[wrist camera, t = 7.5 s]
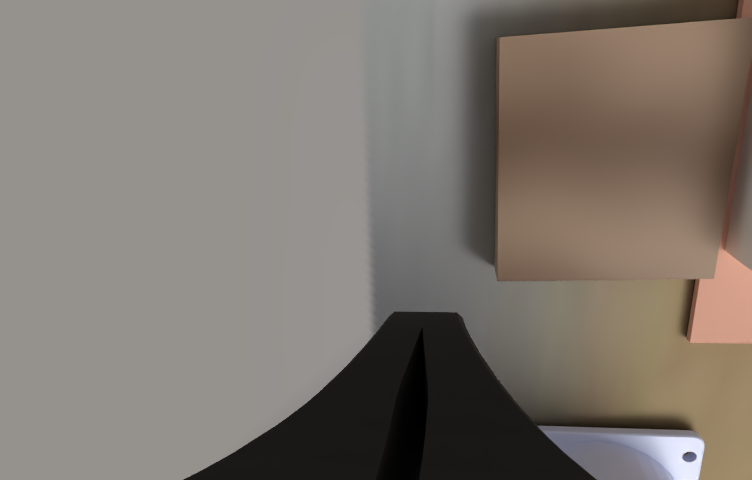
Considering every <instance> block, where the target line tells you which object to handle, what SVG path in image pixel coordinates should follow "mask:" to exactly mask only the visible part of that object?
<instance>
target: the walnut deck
mask: <svg viewBox="0 0 752 480" xmlns="http://www.w3.org/2000/svg"><path fill="white" fill-rule="evenodd" d="M751 56H752V17H750V18H737V19H725V20H712V21H699V22H687V23H674V24H661V25H648V26H636V27H623V28H610V29H598V30H585V31H572V32H560V33H547V34H534V35H522V36H509V37H497V38H496V161H495V271H496V276H497V281H556V280H657V279H714V276H715V270H716V264H717V258H718V252H719V246H720V240H721V234H722V228H723V222H724V216H725V210H726V204H727V198H728V192H729V187H730V181H731V175H732V169H733V163H734V157H735V151H736V145H737V139H738V133H739V127H740V121H741V115H742V109H743V103H744V97H745V91H746V85H747V79H748V74H749V68H750V62H751Z"/></svg>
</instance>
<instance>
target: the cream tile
mask: <svg viewBox="0 0 752 480" xmlns="http://www.w3.org/2000/svg"><path fill="white" fill-rule="evenodd" d="M725 251H726V252H727V253H729V254H730V255H731V256H733V257H734V258H735V259H736V260H738V261H739V262H740V263H742V264H743V265H744V266H746V267H747V268H748V269H750V270H751V271H752V82H751V88H750V95H749V101H748V107H747V114H746V120H745V126H744V133H743V139H742V145H741V152H740V158H739V164H738V171H737V177H736V183H735V190H734V196H733V202H732V209H731V215H730V221H729V228H728V234H727V240H726V247H725Z"/></svg>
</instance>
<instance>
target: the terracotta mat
mask: <svg viewBox="0 0 752 480" xmlns="http://www.w3.org/2000/svg"><path fill="white" fill-rule="evenodd" d="M750 17H752V0H739V2H738V9H737V15H736V19H737V18H750ZM751 82H752V56H751V62H750V68H749V74H748V79H747V85H746V91H745V97H744V103H743V109H742V115H741V121H740V127H739V133H738V139H737V145H736V151H735V157H734V163H733V169H732V175H731V181H730V187H729V192H728V198H727V204H726V210H725V216H724V222H723V228H722V234H721V240H720V246H719V252H718V258H717V264H716V270H715V276H714V279H696V280H695V287H694V293H693V300H692V306H691V312H690V319H689V325H688V332H687V338H686V339H687V340H688V341H689V342H690V343H752V271H751V270H750V269H748V268H747V267H746V266H744V265H743V264H742V263H740V262H739V261H738V260H736V259H735V258H734V257H733V256H731V255H730V254H729V253H727V252H726V251H725V247H726V240H727V234H728V228H729V221H730V215H731V209H732V202H733V196H734V190H735V183H736V177H737V171H738V164H739V158H740V152H741V145H742V139H743V133H744V126H745V120H746V114H747V107H748V101H749V95H750V88H751Z"/></svg>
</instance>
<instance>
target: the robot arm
mask: <svg viewBox="0 0 752 480" xmlns="http://www.w3.org/2000/svg"><path fill="white" fill-rule="evenodd" d="M704 447H705V446H704V441H703V440H702V438H701V437H700V435H699V434H698V433H696V432H695V431H690V430H662V429H630V428H597V427H564V426H537V425H536V424H535V423H534V422H533V421H532V420H531V419H530V418H529V417H528V416H527V415H526V413H525V412H524V411H523V410H522V409H521V408H520V407H519V405H518V404H517V403H516V402H515V401H514V399H513V398H512V397H511V396H510V394H509V393H508V392H507V391H506V389H505V388H504V387H503V386H502V384H501V383H500V382H499V380H498V379H497V378H496V376H495V375H494V373H493V372H492V370H491V369H490V367H489V366H488V364H487V363H486V362H485V360H484V359H483V357H482V356H481V354H480V352H479V351H478V349H477V347H476V346H475V344H474V342H473V340H472V339H471V337H470V335H469V333H468V331H467V329H466V326H465V324H464V321H463V318H462V317H461V316H460V315H459V314H458V313H450V312H394V313H392V314H391V315H390V316H389V317H388V319H387V320H386V321H385V322H384V324H383V325H382V326H381V327H380V329H379V330H378V331H377V332H376V334H375V335H374V336H373V337H372V338H371V340H370V341H369V342H368V343H367V344H366V345H365V346H364V348H363V349H362V350H361V351H360V352H359V353H358V354H357V355H356V357H354V358H353V360H352V361H351V362H350V363H349V364H348V365H347V366H346V367H345V368H344V369H343V370H342V371H341V372H340V373H339V374H338V375H337V376H336V377H335V378H334V379H333V380H331V381H330V382H329V383H328V384H327V385H326V386H325V387H324V388H323V389H322V390H321V391H320V392H319V393H318V394H317V395H315V396H314V397H313V398H312V399H311V400H310V401H308V402H307V403H306V404H305V405H304V406H302V407H301V408H299V409H298V410H297V411H296V412H294V413H293V414H292V415H290V416H289V417H288V418H286V419H285V420H283V421H282V422H281V423H279V424H278V425H276V426H275V427H273V428H272V429H270V430H268V431H267V432H265V433H264V434H262V435H261V436H259V437H258V438H256V439H254V440H253V441H251V442H250V443H248V444H247V445H245V446H243V447H242V448H240V449H239V450H237V451H236V452H234V453H232V454H231V455H229V456H227V457H225V458H223V459H222V460H220V461H218V462H216V463H214V464H213V465H211V466H209V467H207V468H205V469H203V470H202V471H200V472H198V473H196V474H194V475H192V476H190V477H188V478H186V479H184V480H699V474H700V469H701V463H702V458H703V452H704ZM686 452H691V453H689V454H687V455H683V454H684V453H686Z"/></svg>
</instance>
